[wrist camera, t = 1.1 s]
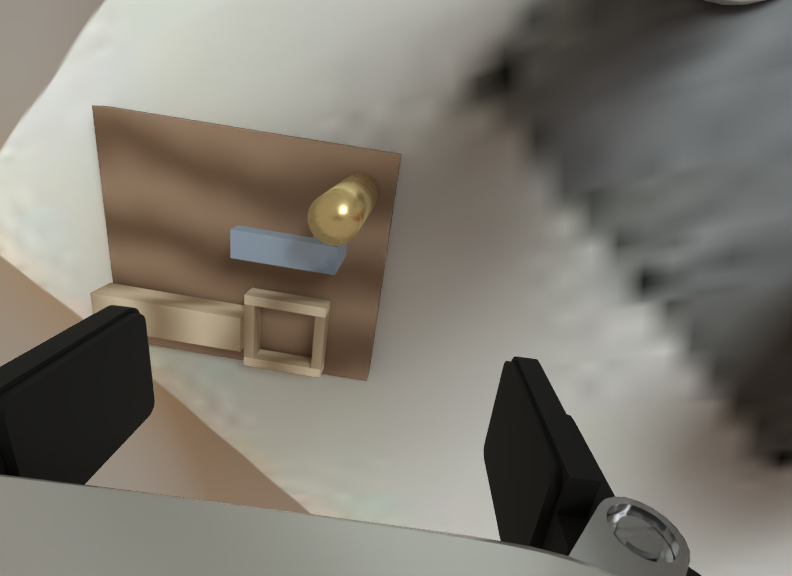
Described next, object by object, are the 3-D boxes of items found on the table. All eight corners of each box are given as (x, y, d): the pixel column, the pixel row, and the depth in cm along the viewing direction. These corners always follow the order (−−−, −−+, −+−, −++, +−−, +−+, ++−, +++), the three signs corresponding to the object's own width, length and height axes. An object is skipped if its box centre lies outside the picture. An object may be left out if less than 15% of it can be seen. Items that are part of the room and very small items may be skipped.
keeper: (254, 216, 31) (230, 229, 28) (348, 231, 31) (337, 247, 27) (254, 241, 32) (230, 257, 28) (345, 256, 32) (334, 275, 28)
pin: (342, 170, 30) (309, 189, 21) (381, 176, 30) (363, 198, 21) (338, 208, 31) (305, 241, 22) (376, 214, 31) (357, 249, 22)
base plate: (107, 106, 31) (91, 105, 29) (401, 154, 30) (400, 155, 29) (131, 331, 38) (120, 339, 36) (369, 371, 38) (366, 380, 36)
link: (330, 300, 33) (324, 312, 31) (323, 367, 36) (317, 382, 34) (108, 263, 33) (87, 272, 31) (116, 332, 36) (97, 345, 34)
